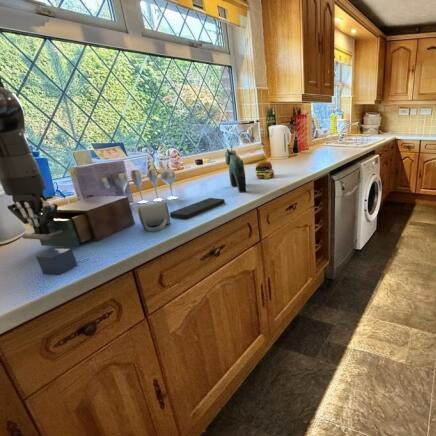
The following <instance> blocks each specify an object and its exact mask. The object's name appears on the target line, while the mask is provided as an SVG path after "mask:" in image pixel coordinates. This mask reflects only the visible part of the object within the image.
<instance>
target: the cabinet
mask: <svg viewBox="0 0 436 436" xmlns="http://www.w3.org/2000/svg"><path fill="white" fill-rule="evenodd" d="M58 212H63V213H86V215H87V218H88V221H89V224H90V227H91V230H92V233H93V236H94V237H93V238H91V239H88V240H86V241H85V242H96V243H97V242H100V241H102V240H104V239H106V238H108V237H110V236H112V235H115V234H117V233H119V232H121V231H123V230H125V229H127V228H129V227H131V226H134V225H136V222H135V217H134V215H133V211H132V207H131V205H130V203H129V199H128V196H93V197H90V198H86V199H83V200H80V201H78V200H77V201H74V202H71V203H67V204H64V205H61V206H58V208H57V211H56V213H58Z"/></svg>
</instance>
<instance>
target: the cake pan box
mask: <svg viewBox="0 0 436 436" xmlns="http://www.w3.org/2000/svg"><path fill="white" fill-rule="evenodd" d="M67 169H68V172H69V176H70V179H71V183H72V185H73V189H74V192H75V195H76V198H77V201H80V200H83V199H86V198H90V197H93V196H124V195H123V192H122V191H121V189H119V188H118V187H117V186H116V185H115V184H114V182H113V180H112V176H111V173H112V174H119V172H126V174H127V175H128V173H127V169H126V164H125V161H124V159H119V160H110V161H103V162H96V163H89V164H83V165H75V166H68V167H67ZM106 177H108V178H109V180H110V183H111V185H110V187H109V188H105V187H104V186H103V185H102V182H101V178H106ZM130 185H131V184H130V181H129V180H128V184H127V186H126V188H125V196H128V199H129V202H133V203H134V202H135V200H134V197H133V192H132V190H131V186H130Z"/></svg>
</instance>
